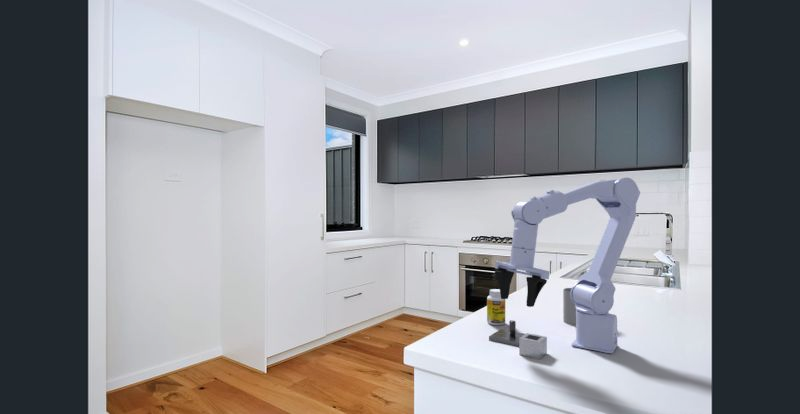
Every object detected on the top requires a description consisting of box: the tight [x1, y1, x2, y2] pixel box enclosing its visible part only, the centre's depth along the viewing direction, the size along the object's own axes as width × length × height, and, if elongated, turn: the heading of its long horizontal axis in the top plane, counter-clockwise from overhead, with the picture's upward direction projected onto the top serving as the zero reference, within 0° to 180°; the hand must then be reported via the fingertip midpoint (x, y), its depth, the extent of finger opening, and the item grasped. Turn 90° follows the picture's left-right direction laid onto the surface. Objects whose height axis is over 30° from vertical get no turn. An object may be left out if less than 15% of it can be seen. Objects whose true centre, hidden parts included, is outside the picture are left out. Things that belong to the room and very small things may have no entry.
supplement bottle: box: [486, 288, 506, 326], centre depth 123 cm, size 6×6×10 cm
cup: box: [562, 287, 576, 327], centre depth 123 cm, size 8×8×10 cm
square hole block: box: [518, 332, 548, 360], centre depth 97 cm, size 5×5×4 cm
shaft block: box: [488, 320, 526, 347], centre depth 107 cm, size 10×8×5 cm
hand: (516, 302), depth 99 cm, fingers open, 7 cm apart
